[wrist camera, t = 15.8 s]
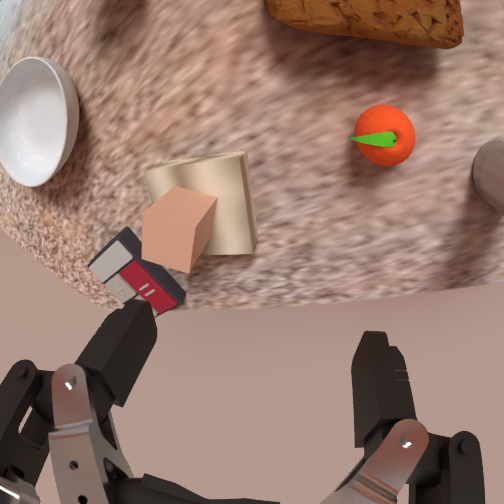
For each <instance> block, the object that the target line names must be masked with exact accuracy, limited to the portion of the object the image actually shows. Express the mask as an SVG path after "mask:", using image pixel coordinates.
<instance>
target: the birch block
mask: <svg viewBox="0 0 504 504" xmlns="http://www.w3.org/2000/svg"><path fill="white" fill-rule="evenodd" d="M145 177H146V181H147V185H148V189H149V193H150V197H151V201H152V205H153V204H154V203H155V202H156V201H157V200H158V199H160V198H161V197H162V196H163V195H164V194H165V193H167V192H168V191H169V190H170V189H171V188H173V187H174V186H176V187H180V188H184V189H188V190H192V191H196V192H200V193H204V194H208V195H212V196H215V197H218V199H217V204H216V209H215V214H214V219H213V225H212V230H211V236H210V238H209V240H208V242H207V244H206V245H205V247H204V249H203V251H202V252H201V254H200V255H231V254H253V252H254V249H255V246H256V242H257V239H258V231H257V223H256V216H255V208H254V201H253V193H252V185H251V178H250V170H249V163H248V156H247V151H239V152H230V153H221V154H213V155H205V156H198V157H191V158H184V159H178V160H172V161H166V162H160V163H159V164H157V165H155V166H153V167H152V168H150V169H148V170H146V171H145Z"/></svg>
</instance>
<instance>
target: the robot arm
mask: <svg viewBox="0 0 504 504" xmlns="http://www.w3.org/2000/svg"><path fill="white" fill-rule="evenodd" d="M473 182H474V186H475V189H476V191H477V193H478V194H479V195H480V196H481V197H482V198H483V199H484V200H485V201H486V202H488V203H489V204H490V205H491V206H493V207H494V208H495V209H496V210H497V211H499V212H500V213H501V214H502V215H503V216H504V143H503V142H500V141H490V142H488V143H486V144H485V145H484V146H483V147H482V148H481V149H480V150H479V152H478V153H477V156H476V158H475V161H474V164H473ZM156 339H157V326H156V323H155V318H154V314H153V310H152V306H151V303H150V302H149V301H144V300H139V299H135V298H130V299H129V300H128V301H127V303H126V304H125V305H124V307H123V308H122V309H119V308H118V309H116V310H115V311H114V312H112V313H111V314H109V315H108V316H107V318H106V319H105V320H104V322H103V323H102V324H101V327H99V329H98V330H97V331H96V334H95V335H94V336H93V337H92V339H91V340H90V341H89V343H88V344H87V346H86V347H85V349H84V350H83V352H82V353H81V355H80V356H79V357H78V359H77V360H76V362H75V363H74V364H66V365H63V366H61V367H60V368H58V369H57V370H56V371H44V370H38V369H37V367H36V366H35V365H34V363H33V362H32V361H30V360H20V361H18V362H17V363H15V364H14V365H13V366H12V368H11V369H10V370H9V372H8V374H7V375H6V377H5V379H4V380H3V382H2V383H1V385H0V504H40V498H39V496H38V495H37V494H36V491H35V486H36V483H37V481H38V478H39V476H40V473H41V470H42V468H43V466H44V463H45V461H46V458H47V456H48V454H49V451H50V454H51V460H52V466H53V471H54V476H55V481H56V485H57V490H58V494H59V498H60V502H61V504H280V502H271V501H262V500H254V499H247V498H243V499H242V498H241V499H206V498H203V497H201V496H199V495H197V494H195V493H193V492H191V491H189V490H187V489H185V488H184V487H182V486H180V485H178V484H176V483H174V482H170V481H167V480H164V479H161V478H157V477H154V476H152V475H149V474H144V476H143V478H134V476H133V474H132V471H131V469H130V466H129V464H128V462H127V461H126V459H125V457H124V456H123V454H122V451H121V448H120V444H119V441H118V437H117V434H116V430H115V427H114V422H113V419H112V414H111V411H110V409H111V407H112V405H113V404H115V405H117V406H120V407H123V406H124V404H125V402H126V400H127V398H128V396H129V394H130V392H131V390H132V388H133V386H134V384H135V382H136V380H137V378H138V376H139V374H140V372H141V370H142V368H143V366H144V364H145V362H146V360H147V358H148V356H149V354H150V352H151V350H152V348H153V347H154V345H155V342H156ZM351 375H352V389H353V406H354V429H355V430H354V432H355V448H362V447H364V456H363V457H362V459H361V460H360V461H359V462H358V464H357V465H356V466H355V467H354V469H353V470H352V471H351V472H350V473H349V474H348V476H347V477H346V478H345V479H344V480H343V481H342V482H341V483H340V484H339V486H338V487H337V488H336V489H335V490H334V491H333V492H332V493H331V494H330V495H329V496H328V497H327V498H325V499H324V500H323V501H322V502H321V503H320V504H397V499H396V497H397V495H398V493H399V491H400V490H401V489H402V487H403V486H404V484H405V483H406V484H409V504H485V488H484V475H483V465H482V457H481V451H480V444H479V441H478V439H477V438H476V436H474V435H473V434H472V433H470V432H468V431H461V432H459V433H457V434H455V435H454V436H453V437H452V438H450V437H445V436H440V435H436V434H432V433H429V432H428V431H427V429H426V428H425V426H424V425H423V424H422V423H420V422H419V421H418V420H417V418H416V413H415V408H414V403H413V397H412V392H411V387H410V382H409V381H408V380H409V378H408V373H407V372H406V364H405V360H404V357H403V355H402V354H401V352H400V351H399V350H398V348H397V347H396V346H389V343H388V338H387V335H386V333H385V332H380V331H365V332H364V333H363V336H362V338H361V341H360V343H359V345H358V348H357V350H356V352H355V355H354V357H353V361H352V367H351ZM29 406H31V407H32V411H31V413H30V415H29V417H28V419H27V421H26V423H25V424H24V427H23V428H22V431H21V432H20V434H19V425H20V423H21V421H22V419H23V418H24V416H25V414H26V412H27V410H28V408H29Z"/></svg>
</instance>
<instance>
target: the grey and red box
mask: <svg viewBox="0 0 504 504" xmlns="http://www.w3.org/2000/svg"><path fill="white" fill-rule="evenodd" d="M87 267H88V268H89V269H90V270H91V272H92V273H93V274H94V275H95V276H96V277H97V278H98V279H99V280H100V281H101V282H102V283H103V284H104V286H105V287H106V288H107V289H108V290H109V291H110V292H111V293H112V294H113V295H114V296H115V297H116V298H117V299H118V300H119V301H120V302H121V303H123V304H124V305H125V304H126V303H127V301H128V300H129V299H130V298H135V299H139V300H144V301H149V302H150V303H151V306H152V310H153V314H154V318H155V317H157V316H159V315H160V314H162V313H164V312H166V311H168V310H170V309H172V308H174V307H176V306H178V305H180V304H181V303H182V301H183V299H184V297H185V294H186V292H185V291H184V290H183V289H182V288H181V287H180V285H179V284H178V283H177V282H176V281H175V280H174V279H173V278H172V277H171V276H170V274H169V273H168V272H167V271H166V270H165V269H164V268H163V267H162V266H161V265H159V264H156V263H153V262H150V261H146V260H143V259H142V242H141V241H140V240H139V239H138V238H137V236H136V235H135V234H134V233H133V232H132V230H131V229H130V228H129V227H125V228H124V229H123V230H122V231H121V232H120V233H119V234H117V235H116V236H115V237H114V238H113V239H112V240H111V241H110V242H109V243H108V244H107V245H106V246H105V247H104V248H103V249H102V250H101V251H100V252H99V253H98V254H97V255H96V256H95V257H94V258H93V259H92V260H91V261H90V263H89V264H88V265H87Z"/></svg>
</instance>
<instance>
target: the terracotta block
mask: <svg viewBox="0 0 504 504" xmlns="http://www.w3.org/2000/svg"><path fill="white" fill-rule="evenodd" d="M217 199H218V197H215V196H212V195H208V194H204V193H200V192H196V191H192V190H188V189H184V188H180V187H176V186H174V187H173V188H171V189H170V190H169V191H168V192H167V193H165V194H164V195H163V196H162V197H161V198H160V199H158V200H157V201H156V202H155V203H154V204H153V205H151V206H150V207H149V208H148V209H147V210H146V211H145V212H144V213H143V225H142V259H143V260H146V261H150V262H153V263H156V264H159V265H162V266H165V267H169V268H172V269H175V270H178V271H181V272H185V273H188V274H189V273H190V272H191V270H192V268H193V266H194V265H195V263H196V261H197V259H198V258H199V256H200V254H201V252H202V251H203V249H204V247H205V245H206V244H207V242H208V240H209V238H210V236H211V230H212V225H213V219H214V214H215V209H216V204H217Z"/></svg>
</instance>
